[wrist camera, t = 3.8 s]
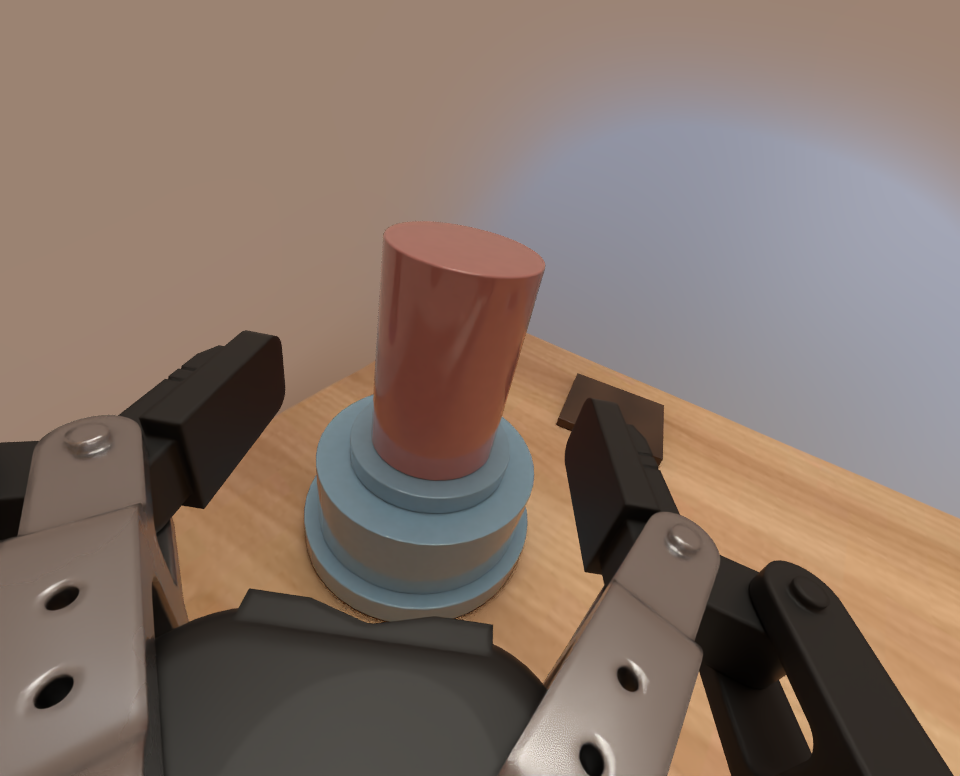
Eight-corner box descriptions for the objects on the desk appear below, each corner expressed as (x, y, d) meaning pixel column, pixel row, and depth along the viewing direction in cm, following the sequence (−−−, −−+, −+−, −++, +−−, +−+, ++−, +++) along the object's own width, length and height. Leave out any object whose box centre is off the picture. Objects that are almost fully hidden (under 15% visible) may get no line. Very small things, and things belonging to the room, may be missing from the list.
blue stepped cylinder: (249, 549, 21) (231, 459, 18) (387, 419, 32) (394, 346, 28) (473, 677, 18) (506, 602, 15) (544, 489, 29) (574, 418, 25)
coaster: (556, 424, 36) (558, 417, 35) (575, 379, 43) (577, 373, 42) (658, 466, 34) (663, 459, 33) (660, 411, 41) (664, 405, 40)
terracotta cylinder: (344, 446, 20) (346, 234, 14) (411, 385, 25) (433, 214, 19) (462, 502, 18) (517, 293, 13) (508, 426, 23) (561, 253, 18)
